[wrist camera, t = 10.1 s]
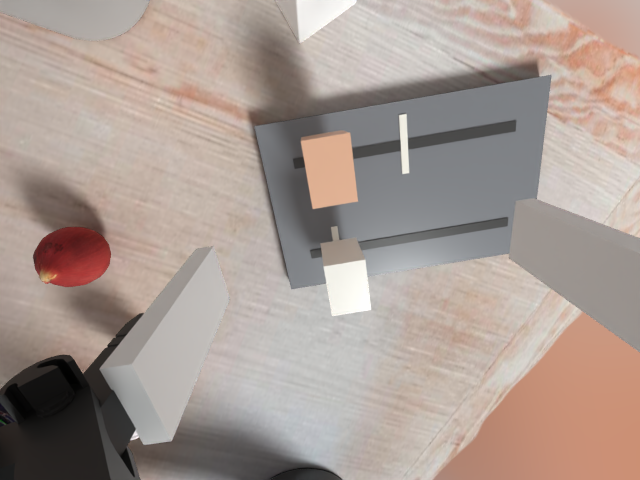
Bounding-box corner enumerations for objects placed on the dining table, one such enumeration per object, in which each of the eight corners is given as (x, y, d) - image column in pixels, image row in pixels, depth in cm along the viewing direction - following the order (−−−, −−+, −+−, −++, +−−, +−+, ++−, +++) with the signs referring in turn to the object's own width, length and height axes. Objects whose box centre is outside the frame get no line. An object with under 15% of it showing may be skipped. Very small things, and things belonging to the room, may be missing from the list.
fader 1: (344, 181, 30) (357, 201, 23) (310, 187, 30) (312, 209, 23) (338, 129, 28) (350, 132, 21) (301, 135, 28) (300, 140, 21)
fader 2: (356, 268, 34) (371, 309, 27) (326, 273, 34) (332, 316, 27) (351, 227, 32) (365, 259, 25) (319, 232, 32) (323, 266, 25)
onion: (61, 245, 33) (-9, 281, 26) (84, 206, 32) (17, 233, 24) (111, 274, 35) (59, 316, 27) (135, 239, 33) (87, 273, 26)
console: (521, 244, 36) (531, 250, 34) (291, 282, 36) (291, 289, 35) (539, 76, 29) (552, 74, 28) (256, 125, 30) (254, 126, 28)
